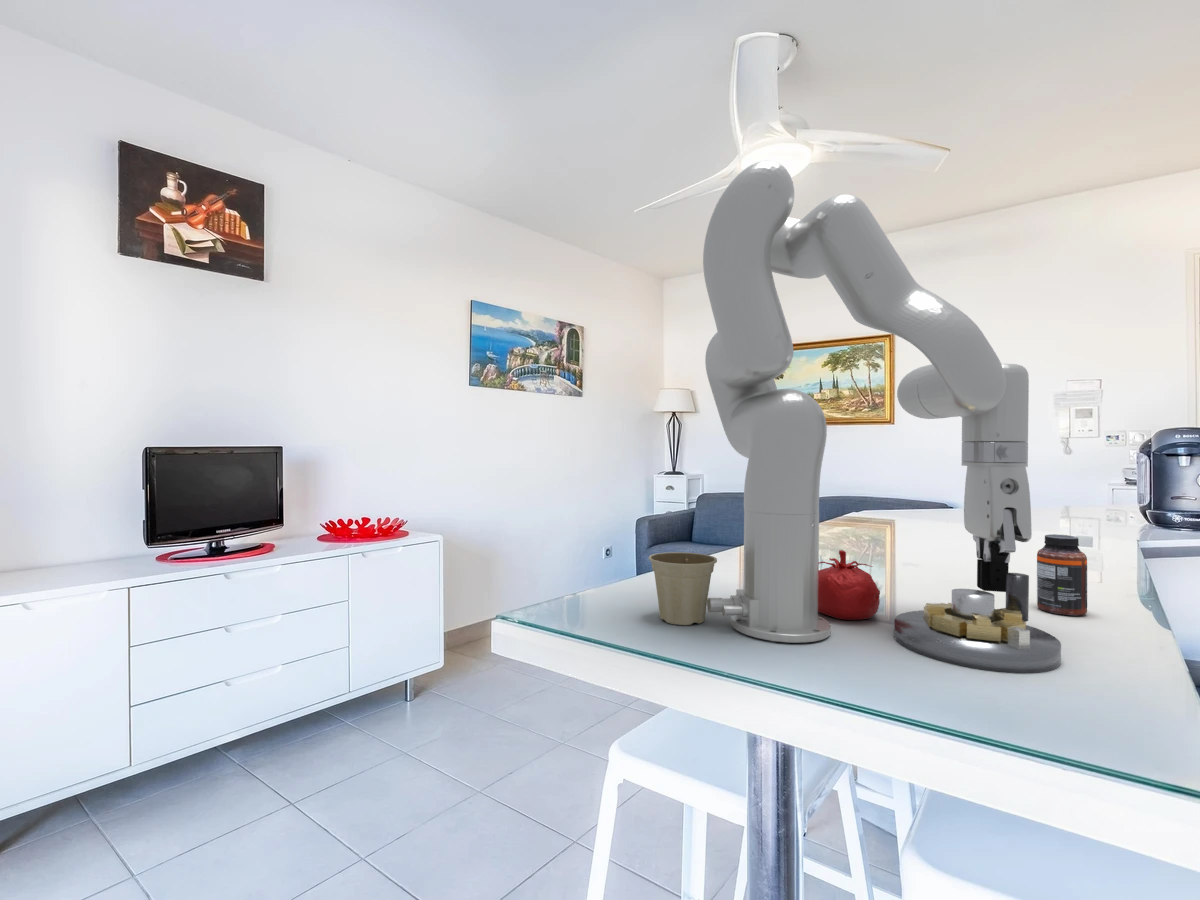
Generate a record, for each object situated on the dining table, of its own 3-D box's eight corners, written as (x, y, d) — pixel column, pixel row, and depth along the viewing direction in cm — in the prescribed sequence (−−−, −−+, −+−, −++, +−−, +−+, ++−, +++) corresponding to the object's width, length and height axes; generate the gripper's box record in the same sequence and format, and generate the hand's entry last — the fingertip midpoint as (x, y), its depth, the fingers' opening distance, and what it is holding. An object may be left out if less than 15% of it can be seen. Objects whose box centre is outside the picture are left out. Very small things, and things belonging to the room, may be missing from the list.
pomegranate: (833, 627, 78) (834, 558, 78) (794, 607, 88) (794, 546, 88) (897, 623, 80) (898, 556, 80) (852, 604, 90) (853, 544, 90)
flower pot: (643, 610, 86) (643, 551, 85) (706, 609, 86) (706, 551, 86) (654, 630, 76) (655, 564, 76) (725, 629, 77) (725, 563, 77)
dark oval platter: (954, 674, 62) (955, 613, 62) (867, 626, 79) (868, 578, 79) (1102, 671, 63) (1102, 611, 63) (985, 624, 80) (985, 576, 80)
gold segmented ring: (988, 645, 65) (989, 593, 64) (907, 620, 74) (908, 575, 74) (1066, 628, 71) (1067, 582, 71) (983, 608, 80) (983, 566, 80)
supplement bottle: (1068, 606, 90) (1069, 533, 90) (1097, 618, 84) (1098, 539, 84) (1027, 605, 91) (1028, 532, 91) (1053, 616, 85) (1054, 538, 85)
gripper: (1054, 456, 72) (1052, 606, 72) (1001, 455, 86) (999, 579, 86) (985, 456, 73) (983, 601, 73) (944, 455, 88) (943, 576, 88)
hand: (992, 589), depth 80 cm, fingers closed
